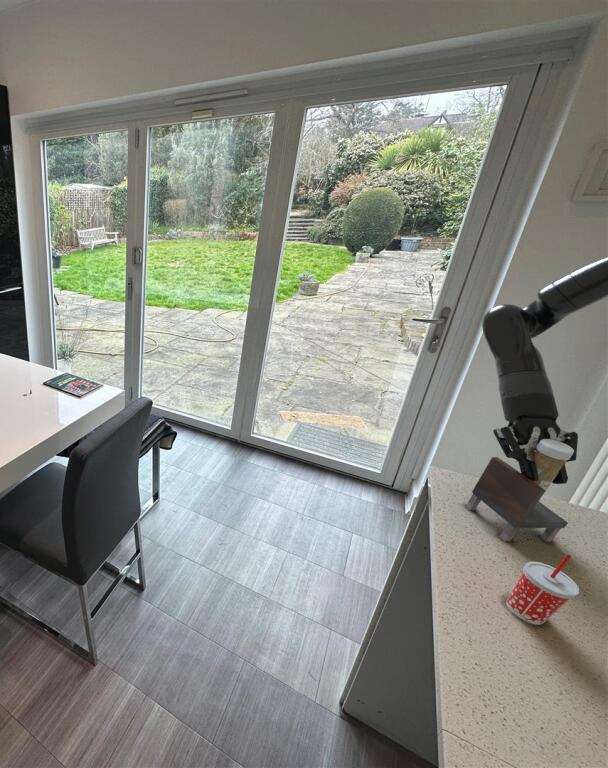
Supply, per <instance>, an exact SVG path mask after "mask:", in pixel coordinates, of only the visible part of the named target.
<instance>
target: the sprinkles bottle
mask: <svg viewBox="0 0 608 768" xmlns="http://www.w3.org/2000/svg"><path fill="white" fill-rule="evenodd" d="M536 448H537V449H536V450H535V452H534V459H533V460H532V461H535V463H536V468H537V472H538V477H539V480H538V481H533V482H534V483H536V484H537V485H539V486H540V487H541V488H543V489H544V490H546V491H545V493H546V492H547V490H548V489H549V487H550V486H551V484H553V483H552V481H553V480H554V478H555V477H556V476H557V474H558V472H559V471H560V469H561V468H562V466H563V465H564V463H565V462H566V461H567V460H569V459H570V458H571V456H572V455H573V453H574V450H573V449H572V448H571V447H570V446H568V445H567V444H564V443H562V442H559V441H556V440H552V439H542V440H541V441H540V442H539V443H538V445H537V447H536ZM566 463H567V462H566ZM566 463H565V464H566ZM537 504H538V503H537ZM537 504H536V505H537Z"/></svg>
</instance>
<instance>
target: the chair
mask: <svg viewBox="0 0 608 768" xmlns="http://www.w3.org/2000/svg"><path fill="white" fill-rule="evenodd" d="M545 491H546V492H547V490H544V489H543V488H541V487H540V486H539V485H537V484H536V483H534V482H533V481H531V480H530V479H529V478H527V477H526V476H524V475H523V474H521V471H518V470H517V469H516V468H514V467H513V466H511V465H510V464H508V463H507V462H506V461H504V460H503V459H502V458H500V457H498V456H492V457H491V459H490V460H489V462H488V463H487V465H486V466H485V469H484V471H483V472H482V474H481V475H480V477H479V479H478V481H477V482H476V483H475V486H474V487H473V489H472V491H471V493H472V494H471V496H470V498H469V499H468V501H467V502H466V504H465V507H466V508H467V509H468V510H469V511H476V509H477V508H478V506H479V504H480V503H481V502H482V503H484V504H485V505H486V506H487V507H489V508H490V510H492V511H494V513H496V515H498V516H500V517H501V518H502V519H503V520H504V521H505V522H507V525H506V526H505V527H504V529H503V530H502V532H501V533H500V535H499V538H501V539H502V540H503V541H504V542H511V541H512V539H514V537H515V535H516V534H517V532H518V531H519V529H544V530H543V532H542V534H541V535H540V536H539V537H540V538H541V539H542V541H545V542H552V541H553V540H554V539H555V537H556V536H557V535H558V533H560V531H561V529H565V527H566V526H567V525H568V524H569V522H568V521H567V520H565V519H563V518H562V516H560V515H558V514H557V513H556V512H554V511H553V510H551V509H550V508H548V507H547V506H546V505H545V504H543V502H540V500H541V499H542V497H543V496H544V494H545V493H546V492H545ZM537 503H538V504H537ZM536 504H537V505H536Z"/></svg>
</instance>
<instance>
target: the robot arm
mask: <svg viewBox="0 0 608 768" xmlns="http://www.w3.org/2000/svg"><path fill="white" fill-rule="evenodd" d="M606 298H608V256H606V257H602V258H599V259H597V260H595V261H592V262H590V263H588V264H586V265H583V266H581V267H579V268H577V269H575V270H573V271H571V272H570V273H567V274H566V275H564V276H562V277H560V278H558V279H556V280H554V281H553V282H551V283H549V284H547V285H545V286H543V287H542V288H541V289H539V290H538V291H537V293H536V299H535V300H533V301H532V302H530V303H529V304H528V305H526V306H524V307H523V308H522V307H520V306H518V305H515V304H510V303H504V304H498V305H495V306H493V307H492V308H490V309H489V310H488V311H486V312H485V314H484V316H483V318H482V322H481V328H482V333H483V336H484V339H485V341H486V343H487V345H488V346H487V347H488V348H489V350H490V352H491V354H492V357H493V359H494V364H495V369H496V375H497V381H498V392H499V393H498V394H499V397H500V403H501V407H502V412H503V417H504V420H505V421H506V422H508V424H507V426H501V427H498V428H493V430H492V433H493V435H494V437H495V438H496V440H497V442H498V444H499V446H500V448H501V450H502V452H503V454H504V456H505V457H506V458H508V459H513V460H516V462H517V463H518V465H519V470H520V471H519V472H520V473H521V474H523V475H524V476H526V477H527V478H529V479H530V480H531V481H538V480H539V477H538V472H537V468H536V463H535V461H532V460H533V459H534V452H535V451H536V449H537V448H536V447H537V445H538V443H539V442H540V441H541V440H542V439H552V440H556V441H559V442H562V443H564V444H567V445H568V446H570V447H571V448H572V449H573V450H574V453H573V455H572V456H571V458H570V459H569V460H567V461H566V462H565V463H564V465H563V466H562V468H561V469H560V471H559V472H558V474H557V476H556V477H555V478H554V480H553V481H552V483H551V484H554V485H565V484H567V483H568V481H569V476H568V472H567V468H566V463H569V462H574V461H576V460H577V455H578V442H579V441H578V440H579V434H578V433H577V432H576V431H569V432H568V431H565V430H562V429H561V427H560V426H559V425H558V423H557V419H558V418H559V416H560V415H559V411H558V407H557V401H556V399H555V398H556V397H555V394H554V391H553V387H552V384H551V381H550V379H549V377H548V376H549V375H548V374H547V370H546V366H545V363H544V359H543V356H542V353H541V352H540V350H539V349H538V348H537V347H536V345H535V344H534V343H533V340H532V339H534V338H536V337H539V335H542V334H543V333H545V332H546V331H548V330H549V329H551V328H552V327H554V326H555V325H557V324H558V323H560V322H561V321H562V320H564V319H565V318H566V317H568V316H570V315H572V314H574V313H576V312H578V311H580V310H583V309H585V308H586V307H589V306H591V305H593V304H596V303H597V302H599V301H602V300H603V299H606Z"/></svg>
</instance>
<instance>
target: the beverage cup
mask: <svg viewBox="0 0 608 768" xmlns="http://www.w3.org/2000/svg"><path fill="white" fill-rule="evenodd" d="M571 558H572V555H571V554H566V555H565V556H564V558H563V559H562V560H561V562H560V563H559V564H558V565H557V566H556V567H553V566H551V565H549V564H546V563H543V562H540V561H528V562H526V563H525V564H524V566H523V569H522V574H521V575H520V577H519V578H518V580H517V582H516V584H515V585H514V587H513V589H512V590H511V592H510V594H509V595H508V597H507V599H506V601H505V604H506V606H507V608H508V610H510V611H511V613H512V614H513V615H514V616H516V617H518V618H519V619H520V620H522V621H524V622H526V623H528V624H532V625H537V626H541V625H543V624H545V623H546V622H547V621H548V620H549V619H550V618H551V617H552V616H553V615H554V614H556V612H557V611H559V609H561V608H562V606H564V605H565V604H566V603H567V602H568V601H569V600H571V599H574V598H575V597H577V596H578V595H579V594H580V588H579V586H578V584H577V582H575V581H574V580H573V579H572V577H570V576H569V575H567V574H565V573H564V572H562V569H563V568H564V567H565V566H566V564H567V563H568V562H569V561H570V560H571Z"/></svg>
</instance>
